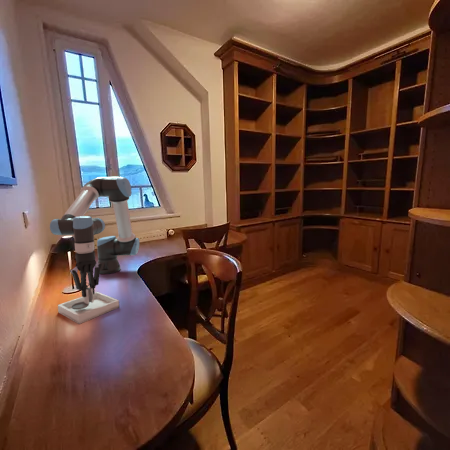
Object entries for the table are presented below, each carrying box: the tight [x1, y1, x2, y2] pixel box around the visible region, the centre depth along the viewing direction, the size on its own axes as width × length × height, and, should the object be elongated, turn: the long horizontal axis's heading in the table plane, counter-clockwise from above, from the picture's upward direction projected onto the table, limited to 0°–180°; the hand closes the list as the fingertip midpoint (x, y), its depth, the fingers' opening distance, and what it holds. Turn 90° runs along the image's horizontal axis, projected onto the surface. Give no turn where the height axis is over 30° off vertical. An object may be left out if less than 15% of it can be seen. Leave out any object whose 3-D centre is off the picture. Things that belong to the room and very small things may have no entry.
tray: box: [57, 291, 120, 325], centre depth 114 cm, size 18×18×4 cm
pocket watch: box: [72, 282, 93, 310], centre depth 111 cm, size 8×8×10 cm
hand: (88, 302), depth 113 cm, fingers closed on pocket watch
